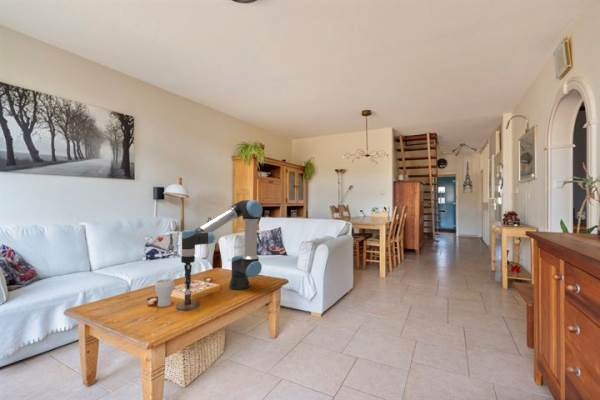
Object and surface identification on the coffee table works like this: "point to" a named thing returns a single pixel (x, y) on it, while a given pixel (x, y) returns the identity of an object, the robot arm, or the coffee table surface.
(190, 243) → the robot arm
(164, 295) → the cup
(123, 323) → the coffee table surface
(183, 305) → the lid
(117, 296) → the coffee table surface
